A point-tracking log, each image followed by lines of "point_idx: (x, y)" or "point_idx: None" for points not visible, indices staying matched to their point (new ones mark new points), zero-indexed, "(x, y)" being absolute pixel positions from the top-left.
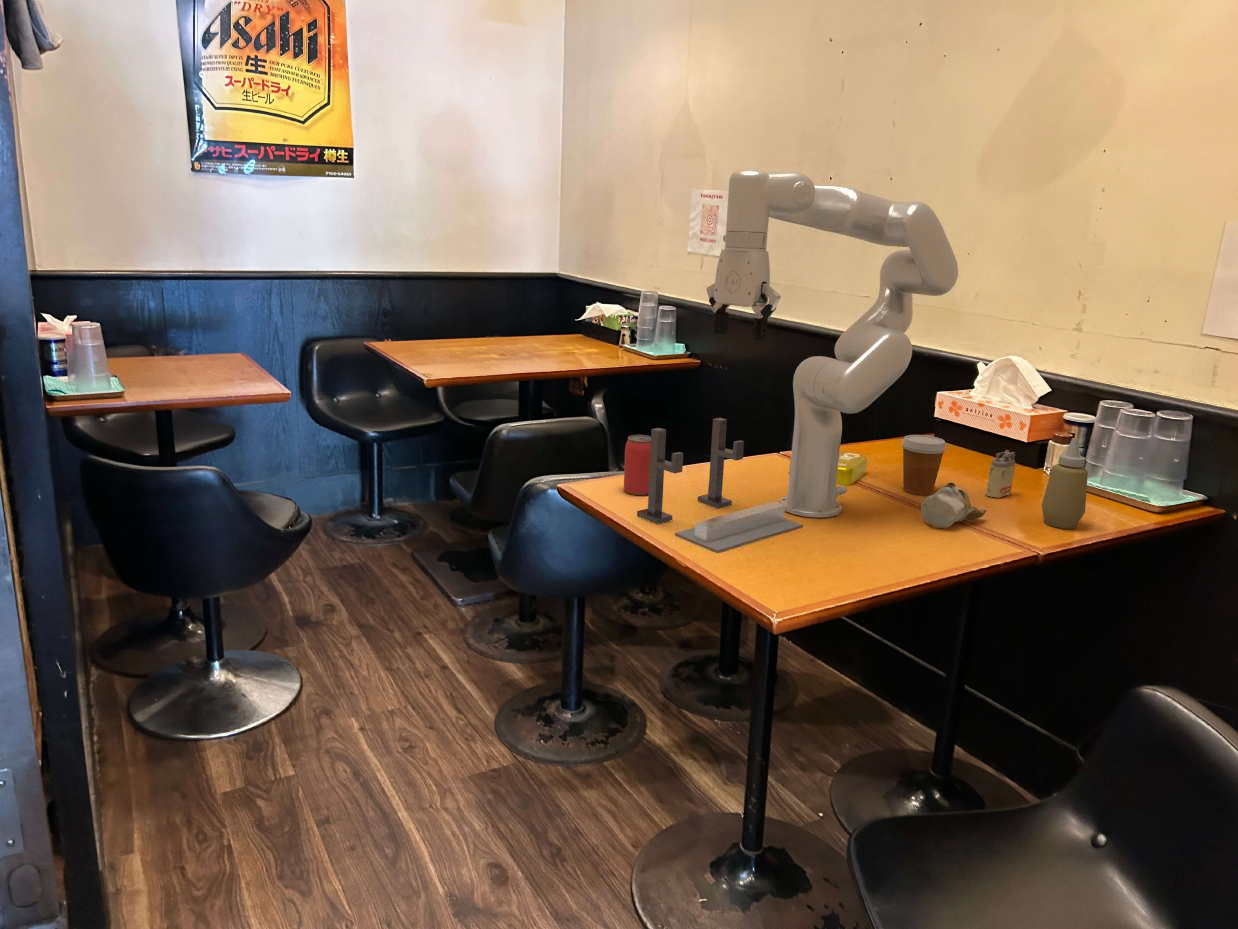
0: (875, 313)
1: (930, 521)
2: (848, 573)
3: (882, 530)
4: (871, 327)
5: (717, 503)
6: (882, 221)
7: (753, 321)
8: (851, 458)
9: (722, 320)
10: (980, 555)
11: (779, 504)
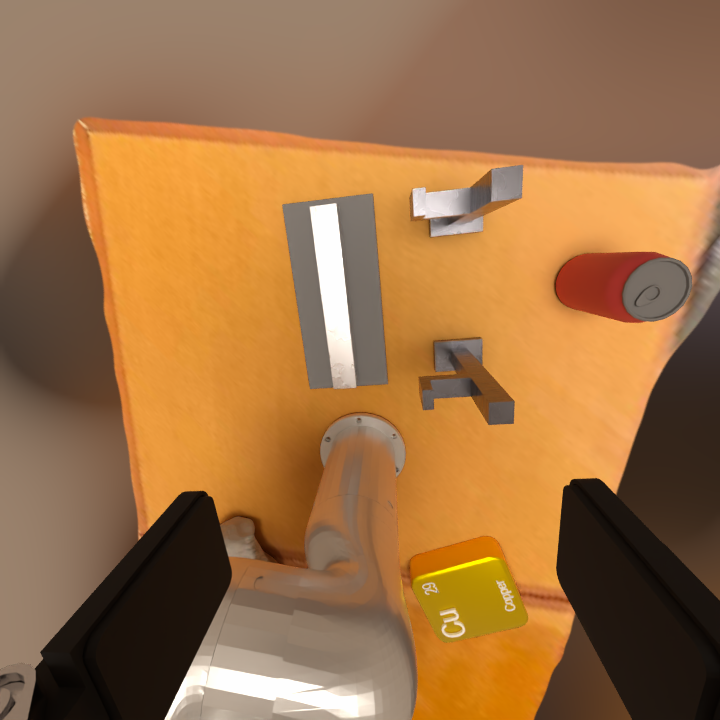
0: None
1: (239, 518)
2: (160, 313)
3: (257, 461)
4: None
5: (437, 342)
6: None
7: (112, 617)
8: (444, 619)
9: (625, 629)
10: (153, 483)
11: (341, 385)
